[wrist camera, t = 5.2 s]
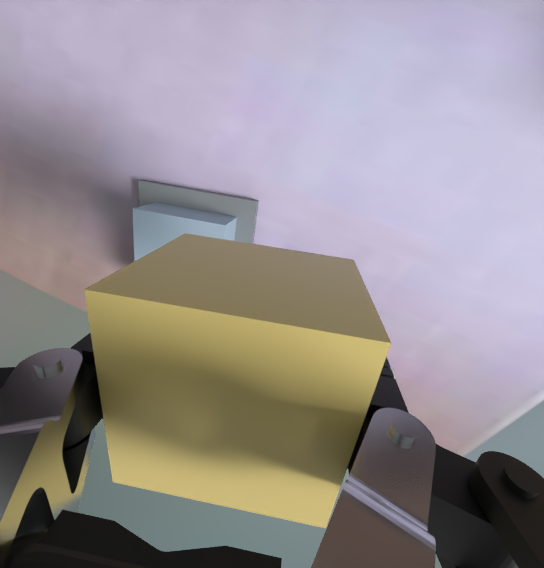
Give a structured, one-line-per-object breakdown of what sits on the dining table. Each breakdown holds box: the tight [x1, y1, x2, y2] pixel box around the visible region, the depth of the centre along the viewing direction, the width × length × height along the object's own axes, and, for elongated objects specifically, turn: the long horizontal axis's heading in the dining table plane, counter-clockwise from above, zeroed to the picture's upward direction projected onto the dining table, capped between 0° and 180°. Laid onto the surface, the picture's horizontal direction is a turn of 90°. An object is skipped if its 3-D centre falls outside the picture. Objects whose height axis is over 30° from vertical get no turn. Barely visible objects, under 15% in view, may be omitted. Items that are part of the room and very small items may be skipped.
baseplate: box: [132, 180, 259, 261], centre depth 24 cm, size 10×10×4 cm
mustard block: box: [84, 233, 391, 528], centre depth 9 cm, size 6×6×5 cm
